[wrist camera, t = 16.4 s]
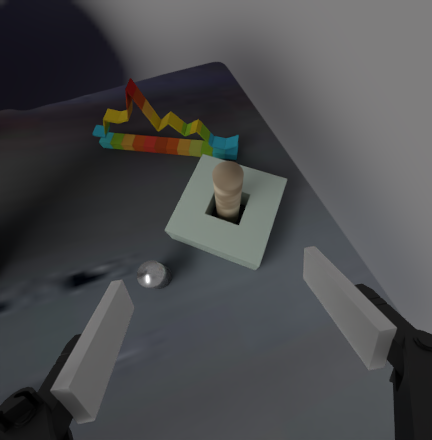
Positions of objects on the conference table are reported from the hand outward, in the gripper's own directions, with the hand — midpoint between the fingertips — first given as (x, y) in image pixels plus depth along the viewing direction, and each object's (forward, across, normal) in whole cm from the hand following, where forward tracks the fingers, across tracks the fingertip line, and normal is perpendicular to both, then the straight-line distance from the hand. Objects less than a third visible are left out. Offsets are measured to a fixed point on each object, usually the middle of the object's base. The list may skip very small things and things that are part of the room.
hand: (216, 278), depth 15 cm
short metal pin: (+18, -10, -12) cm, 24 cm away
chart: (+37, -6, +7) cm, 39 cm away
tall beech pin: (+24, +3, -6) cm, 25 cm away
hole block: (+24, +3, -6) cm, 25 cm away
